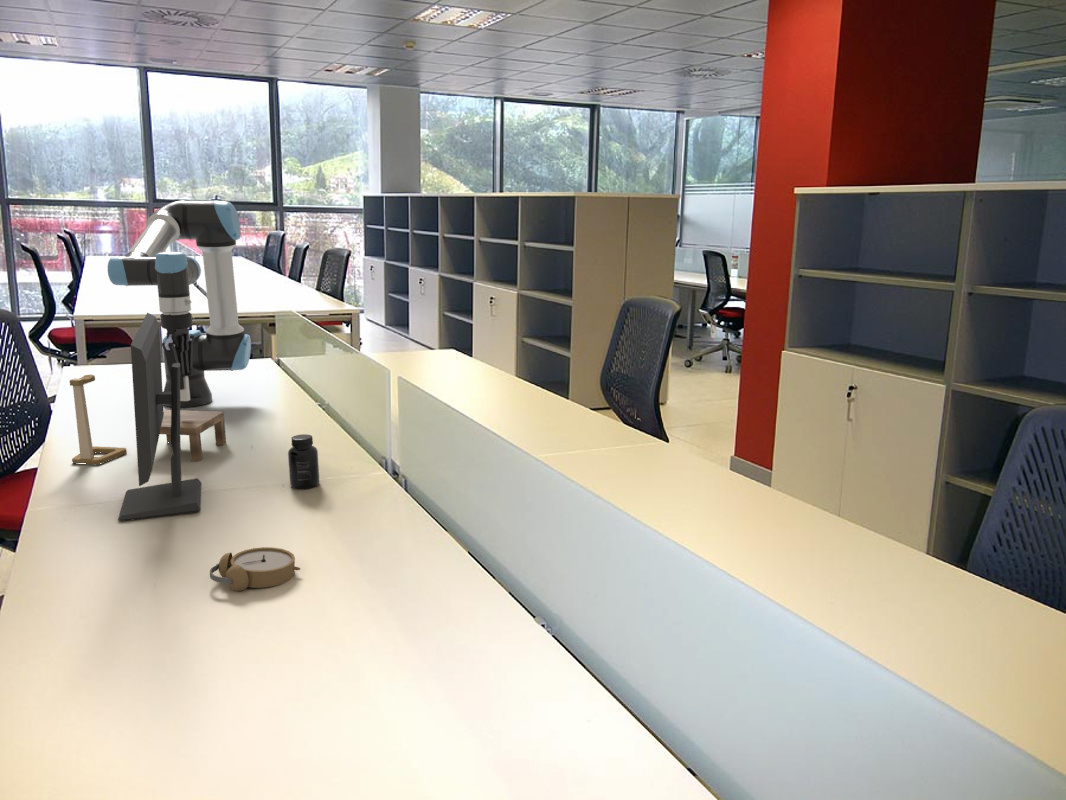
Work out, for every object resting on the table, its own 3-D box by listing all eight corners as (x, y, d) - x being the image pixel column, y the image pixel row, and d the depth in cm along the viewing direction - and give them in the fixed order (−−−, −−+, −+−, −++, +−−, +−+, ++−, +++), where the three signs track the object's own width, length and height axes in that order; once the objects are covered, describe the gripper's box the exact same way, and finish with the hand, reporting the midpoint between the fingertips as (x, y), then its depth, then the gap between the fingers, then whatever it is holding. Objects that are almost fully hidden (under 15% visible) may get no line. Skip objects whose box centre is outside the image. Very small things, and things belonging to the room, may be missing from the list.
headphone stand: (129, 452, 220) (119, 371, 214) (104, 465, 209) (93, 381, 204) (91, 450, 221) (81, 370, 215) (65, 464, 210) (53, 379, 205)
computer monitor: (131, 476, 202) (112, 313, 192) (202, 469, 208) (187, 311, 198) (111, 546, 163) (86, 346, 153) (199, 535, 168) (181, 342, 158)
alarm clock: (305, 565, 150) (220, 571, 141) (302, 590, 150) (217, 598, 142) (284, 543, 159) (203, 548, 150) (281, 567, 159) (200, 574, 150)
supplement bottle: (325, 482, 200) (322, 434, 197) (309, 491, 194) (306, 442, 191) (301, 478, 202) (298, 431, 199) (284, 487, 196) (281, 439, 193)
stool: (167, 409, 228) (135, 425, 212) (223, 411, 227) (195, 428, 211) (170, 441, 230) (139, 459, 215) (226, 443, 229) (198, 461, 213)
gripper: (177, 316, 208) (185, 406, 214) (201, 309, 221) (208, 394, 227) (148, 315, 209) (157, 406, 215) (174, 308, 221) (182, 394, 227)
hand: (184, 400), depth 221 cm, fingers closed
